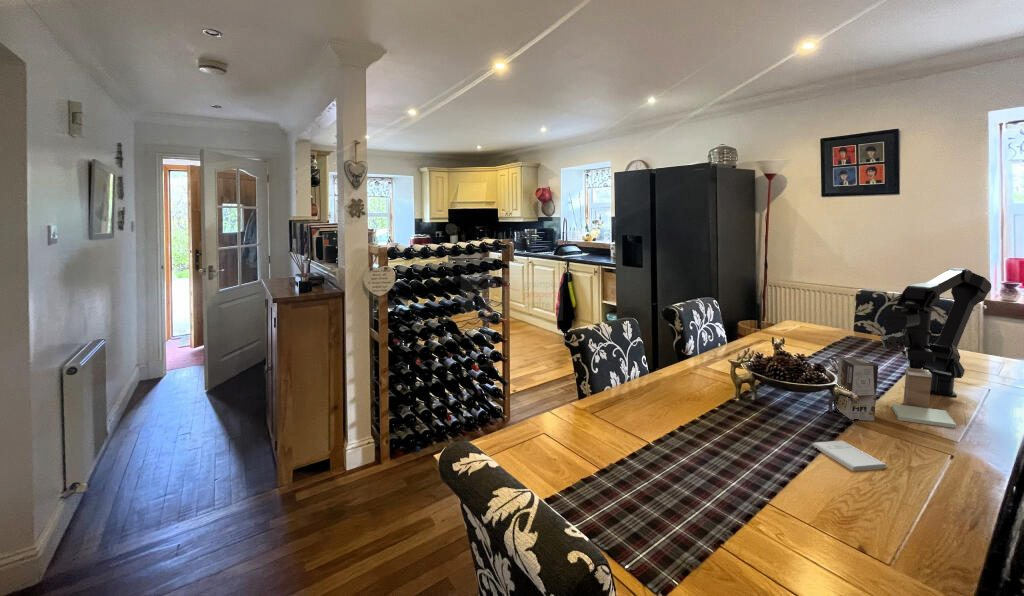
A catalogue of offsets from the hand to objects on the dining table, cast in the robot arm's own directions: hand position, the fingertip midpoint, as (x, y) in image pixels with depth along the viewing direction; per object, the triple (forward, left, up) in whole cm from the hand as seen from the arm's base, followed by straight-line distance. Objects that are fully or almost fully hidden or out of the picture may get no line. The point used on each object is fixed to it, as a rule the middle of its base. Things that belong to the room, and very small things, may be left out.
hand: (913, 376), depth 144 cm
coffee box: (+21, -16, -8) cm, 28 cm away
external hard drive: (+52, -19, -8) cm, 57 cm away
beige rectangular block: (+6, 0, -8) cm, 10 cm away
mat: (+15, 0, -8) cm, 17 cm away
